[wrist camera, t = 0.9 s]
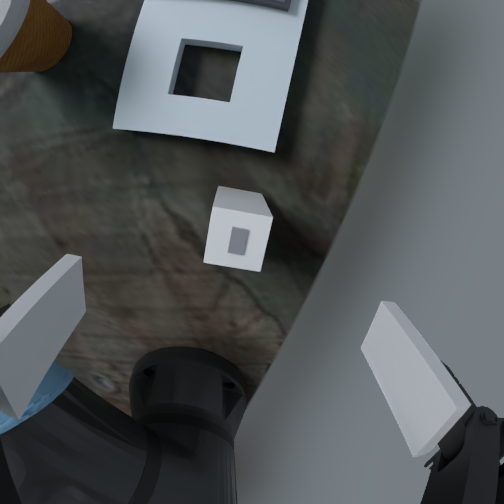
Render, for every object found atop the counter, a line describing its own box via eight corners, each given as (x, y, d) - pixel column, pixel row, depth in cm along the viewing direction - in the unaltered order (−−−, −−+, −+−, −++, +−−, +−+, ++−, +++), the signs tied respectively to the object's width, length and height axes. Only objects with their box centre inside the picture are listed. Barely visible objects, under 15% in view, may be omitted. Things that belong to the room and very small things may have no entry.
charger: (252, 234, 29) (260, 273, 21) (211, 227, 28) (203, 263, 21) (262, 193, 27) (273, 218, 20) (218, 185, 27) (212, 207, 19)
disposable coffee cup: (101, 7, 19) (41, -39, 8) (63, 92, 22) (-18, 83, 11) (38, 5, 17) (-26, -24, 6) (5, 81, 20) (-70, 78, 9)
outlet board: (271, 151, 26) (274, 152, 24) (120, 128, 24) (112, 128, 22) (314, -41, 18) (319, -50, 16) (177, -60, 16) (174, -69, 14)
